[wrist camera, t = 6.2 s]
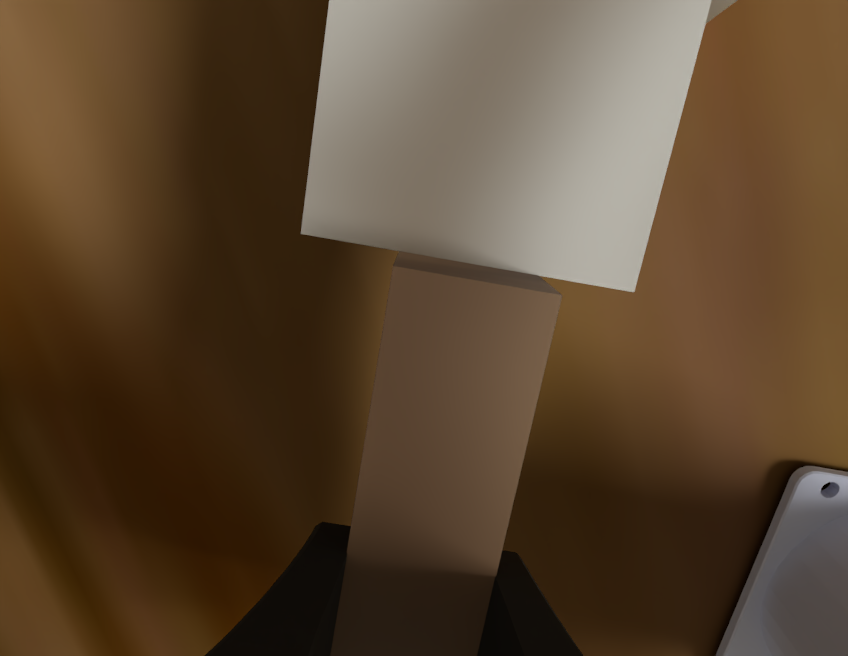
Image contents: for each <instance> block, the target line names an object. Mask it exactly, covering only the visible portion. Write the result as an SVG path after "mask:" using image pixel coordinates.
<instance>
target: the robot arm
mask: <svg viewBox="0 0 848 656" xmlns="http://www.w3.org/2000/svg"><path fill="white" fill-rule="evenodd" d="M828 482H830V485H829V486H828V487H827V488H826V489H824V490H821V488H822V487H823V486H824V485H825V484H827V483H828ZM350 529H351V526H345V525H339V524H332V523H326V522H322V523H320V524H318V525H317V526H316V527H315V528H314V530H313V532H312V534H311V535H310V537H309V538H308V540H307V541H306V543H305V544H304V546H303V547H302V549H301V550H300V552H299V553H298V554H297V556H296V557H295V558H294V560H293V561H292V562H291V564H290V565H289V566H288V567H287V569H286V570H285V571H284V572H283V574H282V575H281V576H280V577H279V578H278V579H277V581H276V582H275V583H274V584H273V585H272V587H271V588H270V589H269V590H268V591H267V593H266V594H265V595H264V596H263V597H262V598H261V599H260V601H259V602H258V603H257V604H256V605H255V606H254V607H253V608H252V609H251V610H250V611H249V612H248V613H247V614H246V615H245V616H244V617H243V619H242V620H241V621H240V622H239V623H238V624H237V625H236V626H235V627H234V628H233V629H232V630H231V631H230V632H229V633H228V634H227V635H226V636H225V637H224V638H223V639H222V640H221V641H220V642H219V643H218V644H217V645H216V646H215V647H214V648H212V649H211V650H210V651H209V652H208V653H207V654H206V655H205V656H330V654H331V648H332V642H333V636H334V630H335V624H336V618H337V612H338V607H339V601H340V595H341V589H342V583H343V577H344V571H345V565H346V559H347V554H348V553H347V547H348V541H349V535H350ZM477 656H583V654H582V653H581V652H580V650H579V649H578V647H577V646H576V644H575V643H574V641H573V640H572V638H571V637H570V635H569V634H568V632H567V631H566V629H565V628H564V627H563V625H562V624H561V622H560V621H559V619H558V617H557V616H556V614H555V613H554V611H553V610H552V608H551V607H550V605H549V603H548V602H547V600H546V599H545V597H544V595H543V594H542V592H541V591H540V589H539V587H538V586H537V584H536V582H535V581H534V579H533V577H532V576H531V574H530V572H529V571H528V569H527V568H526V566H525V564H524V563H523V561H522V559H521V558H520V556H519V555H518V553H515V552H509V551H502V554H501V558H500V562H499V566H498V570H497V575H496V577H495V580H494V584H493V588H492V593H491V597H490V601H489V606H488V610H487V614H486V619H485V623H484V627H483V632H482V636H481V640H480V645H479V649H478V653H477ZM716 656H848V472H845V471H839V470H833V469H827V468H822V467H816V466H804V467H801V468H799V469H797V470H796V471H795V472H793V474H792V475H791V477H790V479H789V481H788V484H787V486H786V488H785V491H784V493H783V496H782V498H781V500H780V503H779V505H778V508H777V510H776V512H775V515H774V517H773V519H772V522H771V524H770V527H769V529H768V531H767V534H766V536H765V539H764V541H763V543H762V546H761V548H760V551H759V553H758V555H757V558H756V560H755V562H754V565H753V567H752V570H751V572H750V574H749V577H748V579H747V582H746V584H745V586H744V589H743V591H742V594H741V596H740V598H739V601H738V603H737V605H736V608H735V610H734V613H733V615H732V617H731V620H730V622H729V625H728V627H727V629H726V632H725V634H724V636H723V639H722V641H721V644H720V646H719V648H718V651H717V653H716Z"/></svg>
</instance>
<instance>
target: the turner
mask: <svg viewBox="0 0 848 656" xmlns="http://www.w3.org/2000/svg"><path fill="white" fill-rule="evenodd" d="M711 1H712V0H329V6H328V14H327V22H326V31H325V39H324V47H323V55H322V63H321V72H320V80H319V88H318V96H317V104H316V113H315V121H314V129H313V137H312V145H311V154H310V162H309V170H308V178H307V186H306V194H305V203H304V211H303V219H302V227H301V234H304V235H310V236H316V237H321V238H327V239H333V240H339V241H344V242H350V243H356V244H361V245H367V246H373V247H378V248H384V249H390V250H396V251H399V253H398V256H397V258H396V260H395V263H394V265H393V270H392V276H391V282H390V288H389V294H388V300H387V307H386V313H385V319H384V325H383V331H382V337H381V344H380V350H379V356H378V362H377V368H376V374H375V381H374V387H373V393H372V399H371V405H370V411H369V418H368V424H367V430H366V436H365V442H364V448H363V455H362V461H361V467H360V473H359V479H358V485H357V492H356V498H355V504H354V510H353V516H352V522H351V529H350V535H349V541H348V547H347V553H348V554H347V559H346V565H345V571H344V577H343V583H342V589H341V595H340V601H339V607H338V612H337V618H336V624H335V630H334V636H333V642H332V648H331V654H330V656H477V653H478V649H479V645H480V640H481V636H482V632H483V627H484V623H485V619H486V614H487V610H488V606H489V601H490V597H491V593H492V588H493V584H494V580H495V577H496V575H497V570H498V566H499V562H500V558H501V554H502V549H503V545H504V541H505V537H506V532H507V528H508V524H509V520H510V515H511V511H512V507H513V503H514V498H515V494H516V490H517V486H518V481H519V477H520V473H521V469H522V464H523V460H524V456H525V452H526V447H527V443H528V439H529V435H530V430H531V426H532V422H533V418H534V413H535V409H536V405H537V401H538V397H539V392H540V388H541V384H542V380H543V375H544V371H545V367H546V363H547V358H548V354H549V350H550V346H551V341H552V337H553V333H554V329H555V324H556V320H557V316H558V312H559V307H560V303H561V299H562V295H561V294H560V293H559V292H558V291H556V290H555V289H554V288H553V287H552V286H550V285H549V284H548V283H547V282H546V281H544V280H543V279H542V278H541V277H539V276H544V277H550V278H555V279H561V280H567V281H572V282H578V283H584V284H589V285H595V286H601V287H607V288H612V289H618V290H624V291H629V292H634V291H635V287H636V283H637V280H638V276H639V272H640V268H641V265H642V261H643V257H644V253H645V249H646V246H647V242H648V238H649V234H650V231H651V227H652V223H653V219H654V216H655V212H656V208H657V204H658V201H659V197H660V193H661V189H662V185H663V182H664V178H665V174H666V170H667V167H668V163H669V159H670V155H671V152H672V148H673V144H674V140H675V136H676V133H677V129H678V125H679V121H680V118H681V114H682V110H683V106H684V103H685V99H686V95H687V91H688V88H689V84H690V80H691V76H692V72H693V69H694V65H695V61H696V57H697V54H698V50H699V46H700V42H701V39H702V35H703V31H704V27H705V24H706V20H707V16H708V12H709V8H710V5H711Z"/></svg>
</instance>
